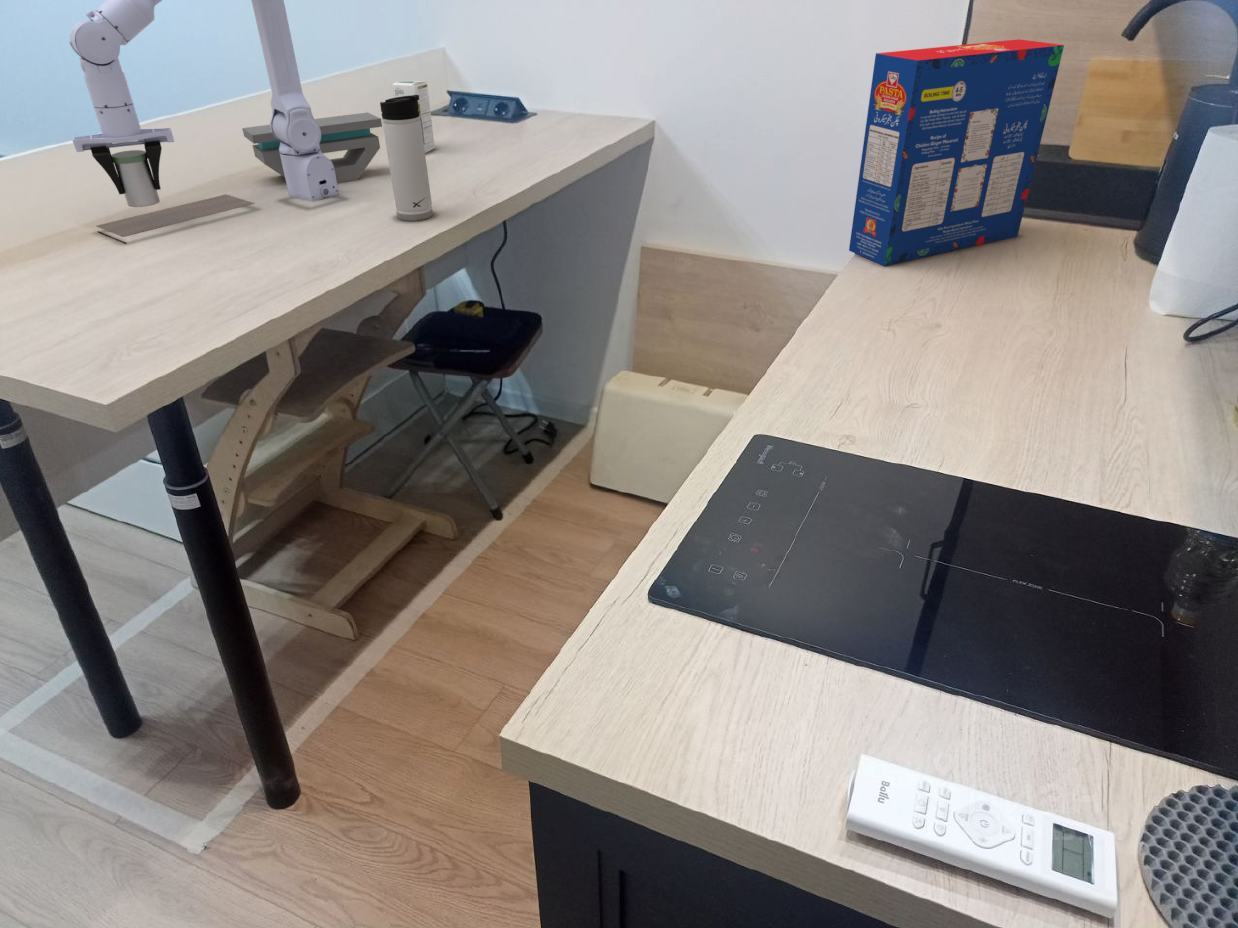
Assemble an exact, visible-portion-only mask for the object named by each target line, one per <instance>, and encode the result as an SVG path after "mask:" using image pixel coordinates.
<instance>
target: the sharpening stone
mask: <svg viewBox="0 0 1238 928" xmlns="http://www.w3.org/2000/svg"><path fill="white" fill-rule="evenodd" d="M314 119H315V121H316V122H317V123H318V125H319V127H320V130H321V140H320V143H319V145H320V150H321V152H322V154H327V153H335V152H342V151H346V152H345V154H343V156H342V157H337V158H329V159H330V161H331V162H332V164H333V166H334V170H335V175H336V180H337V184H338V183H345V182H350V181H356V180H359V179H360V177H361V176H362V174H363V173H364V172H365V170H366V169H367V167H368V166H369V164H370V163H371V162H372V160H373V159H374V158H375V156H376V154H377V153H378V151H379V150H380V149H381V144H380V138H379V136H378V135H376V134H374V133H372V132H371V129H374V128H383V121H382V117H379V116H376V115H374V114H372V113H370V112H368V111H367V112H360V113H352V114H344V115H337V116H336V115H335V116H328V117H320V118H314ZM241 130H242V133H243V137H244V138H246V139H247V140H248V141H249V142H251V143H252V149H253V152H254V157H255V158H256V159H258V161H260V162H261V163H262V164H264V165H265V166H267V167H268V168H270V169H271V170H273V171H274V172H275V173H277V174H279V175H280V176H281V177H283V178H285V175H284V170H283V166H282V161H281V157H280V152H279V147H280V141H279V140H278V139H276V138H275V136H274V135H273V133H272V131H271V127H270V124H264V125H256V126H255V125H254V126H249V127H248V126H247V127H242V129H241Z"/></svg>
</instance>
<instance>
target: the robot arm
mask: <svg viewBox="0 0 1238 928" xmlns="http://www.w3.org/2000/svg"><path fill="white" fill-rule="evenodd" d="M161 2H163V0H105V1H103V3H102V4H100V5H99V6H98V7H97V8H96V9H95V10H93V11H92V10H91V9H89V10H88V11H86V12H85V16H86V17H87V18H88V20H80V21H78V22H76V23H75V24H74V25H73V26H72V27H71V30H70V33H69V40H70V41H69V45H70V47H71V49H72V50H73V51H74V52H75V54H76V55H78V56H79V61H80V67H81V70H82V71H83V79H84V82H85V84H86V88H87V90H88V94H89V96H90V100H91V102H92V106H93V109H94V113H95V115H96V119H97V121H98V124H99V127H100V130H101V132H100V133H95V134H89V135H85V136H84V135H82V136H75V137H74V136H73V137H72V143H73V145H74V149H75V151H76V153H82V152H85V151H91V156H92V157H93V159H94V160H95V161H96V162H97V164H99V165H100V167H101V168H102V169H103V170H104V171H105V172H106V174H107V175H108V177H109V178H110V180H111V182H112V183H113V185H114V187H115V188H116V190H117V192H118V194H119V195H124V192H123V188H122V186H121V183H120V179H119V176H118V173H117V170H116V167H115V164H114V163H113V161H112V158H111V155H112V153H111V148H121V147H129V146H130V147H131V146H139V145H140V146H141V145H144V151H146V154H147V157H148V159H147V160H148V163H149V166H150V170H151V173H152V176H153V179H154V184H155V187H156V190H157V191H160V190H161V184H160V183H161V182H160V163H161V162H160V161H161V156H162V155H161V154H162V149H163V148H162V145H161V143H174V142H175V138H174V135H173V132H172V128H171V127H166V128H165V127H163V128H142V127H141V125H140V121H139V118H138V115H137V112H136V108H135V105H134V102H133V98H132V94H131V91H130V88H129V84H128V80H127V77H126V74H125V73H124V71H123V69H122V65H121V63H120V59H119V56H120V53H121V46H127V45H128V44H129V43H130V42H131V41H132V40H134V38H136V37H137V36H138V35H140V33H141V32H143V31H144V30H145V28H148V26H149V25H150V24H152V23H153V22H154V21H155V7H156V6H157V5H158V4H159V3H161ZM251 4H252V9H253V13H254V19H255V22H256V27H257V31H258V35H259V40H260V45H261V50H262V54H263V58H264V62H265V67H266V71H267V77H268V80H269V85H270V90H271V99H270V107H271V118H270V121H269V122H270V124H269V125H270V127H271V131H272V133H273V135H274V136H275V138H276V139H278V140H279V141H280V147H279V152H280V157H281V161H282V166H283V170H284V175H285V177H284V179H285V183H286V188H287V192H288V196H289V197H290V198H293V199H299V200H300V199H301V200H305V201H308V202H316V201H320V200H324V199H327V198H330V197H334V196H338V195H340V191H339V186H338V185H339V184H338V183H337V180H336V175H335V170H334V166H333V164H332V162H331V161H330V159H331V158H329V157H327V156H326V155H324V153H322V152H321V150H320V145H319V143H320V140H321V130H320V127H319V125H318V123H317V122H316V121H315V119H316V118H314V115H313V111H312V108H311V106H310V104H309V102H308V100H307V98H306V97H305V95H304V92H303V87H302V83H301V79H300V78H301V77H300V74H299V73H300V72H299V69H298V68H299V67H298V63H297V59H296V54H295V49H294V44H293V40H292V34H291V30H290V24H289V20H288V15H287V10H286V9H287V8H286V6H285V0H251Z"/></svg>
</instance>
